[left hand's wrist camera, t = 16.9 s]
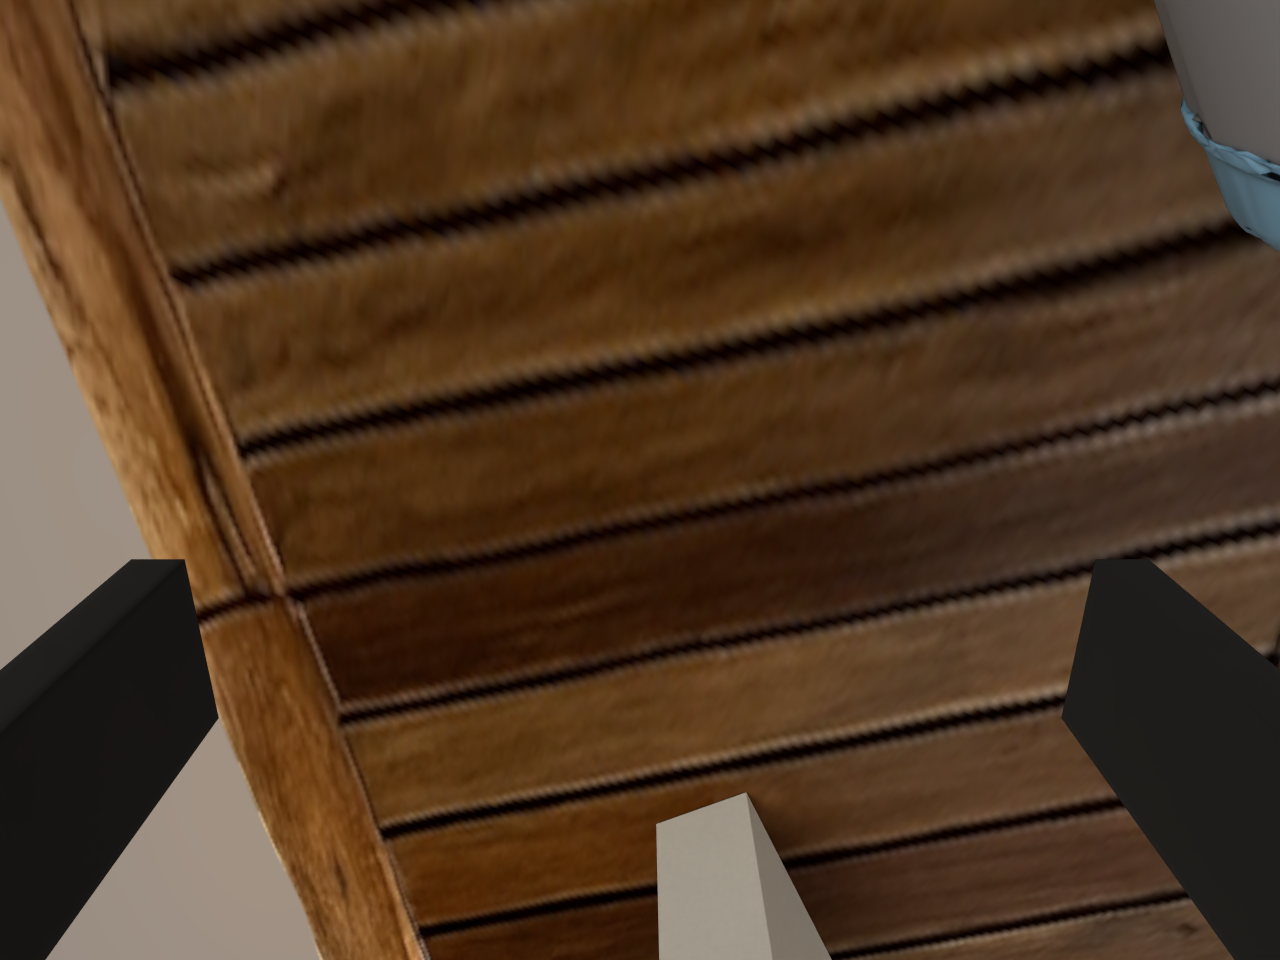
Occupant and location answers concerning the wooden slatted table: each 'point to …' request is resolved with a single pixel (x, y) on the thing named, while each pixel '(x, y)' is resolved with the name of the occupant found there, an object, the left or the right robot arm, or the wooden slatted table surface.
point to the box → (728, 890)
